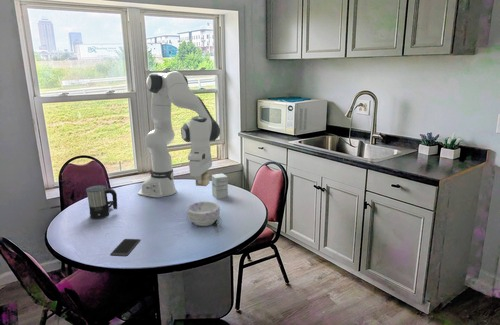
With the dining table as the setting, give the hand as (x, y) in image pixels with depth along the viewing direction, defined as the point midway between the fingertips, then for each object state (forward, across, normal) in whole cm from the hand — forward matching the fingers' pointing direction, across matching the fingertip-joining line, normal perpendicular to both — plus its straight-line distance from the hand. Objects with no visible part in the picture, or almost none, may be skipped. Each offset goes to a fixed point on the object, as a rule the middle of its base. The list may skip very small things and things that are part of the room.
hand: (202, 181), depth 165 cm
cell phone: (+21, +30, -24) cm, 44 cm away
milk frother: (+21, -2, -56) cm, 60 cm away
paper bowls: (+21, 0, 0) cm, 21 cm away
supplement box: (+21, -36, -3) cm, 42 cm away
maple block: (+2, 0, 0) cm, 2 cm away
